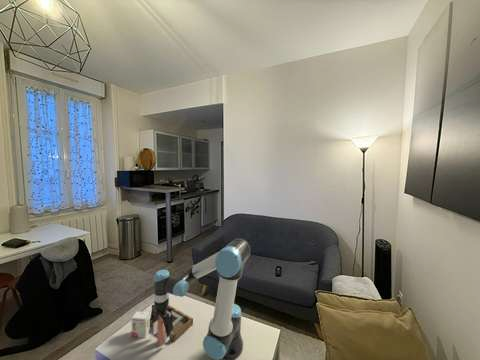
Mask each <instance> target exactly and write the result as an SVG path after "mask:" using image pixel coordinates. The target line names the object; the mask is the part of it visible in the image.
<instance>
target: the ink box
mask: <svg viewBox="0 0 480 360" xmlns="http://www.w3.org/2000/svg"><path fill="white" fill-rule="evenodd" d="M150 317H151V312H145V311H136V312H135V313H134V314H133V316H132V317H131V338H147V336H148V334H149V332H150V327H151V326H150Z"/></svg>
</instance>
